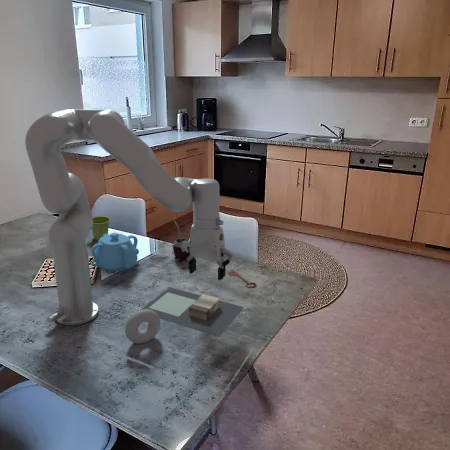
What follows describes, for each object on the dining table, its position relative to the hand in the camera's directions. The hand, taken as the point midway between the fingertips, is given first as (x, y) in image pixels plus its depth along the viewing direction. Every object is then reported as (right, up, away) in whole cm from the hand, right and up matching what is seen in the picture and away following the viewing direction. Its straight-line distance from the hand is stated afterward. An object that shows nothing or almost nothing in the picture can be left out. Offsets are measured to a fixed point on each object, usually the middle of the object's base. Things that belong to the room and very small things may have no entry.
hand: (206, 275), depth 124 cm
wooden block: (-1, -12, +4) cm, 13 cm away
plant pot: (-50, +9, +60) cm, 79 cm away
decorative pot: (-36, -1, +33) cm, 49 cm away
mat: (-5, -12, +5) cm, 14 cm away
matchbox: (-6, -23, -23) cm, 33 cm away
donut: (-17, -17, -10) cm, 27 cm away
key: (+11, -5, +27) cm, 29 cm away
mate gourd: (-12, +1, +42) cm, 43 cm away
